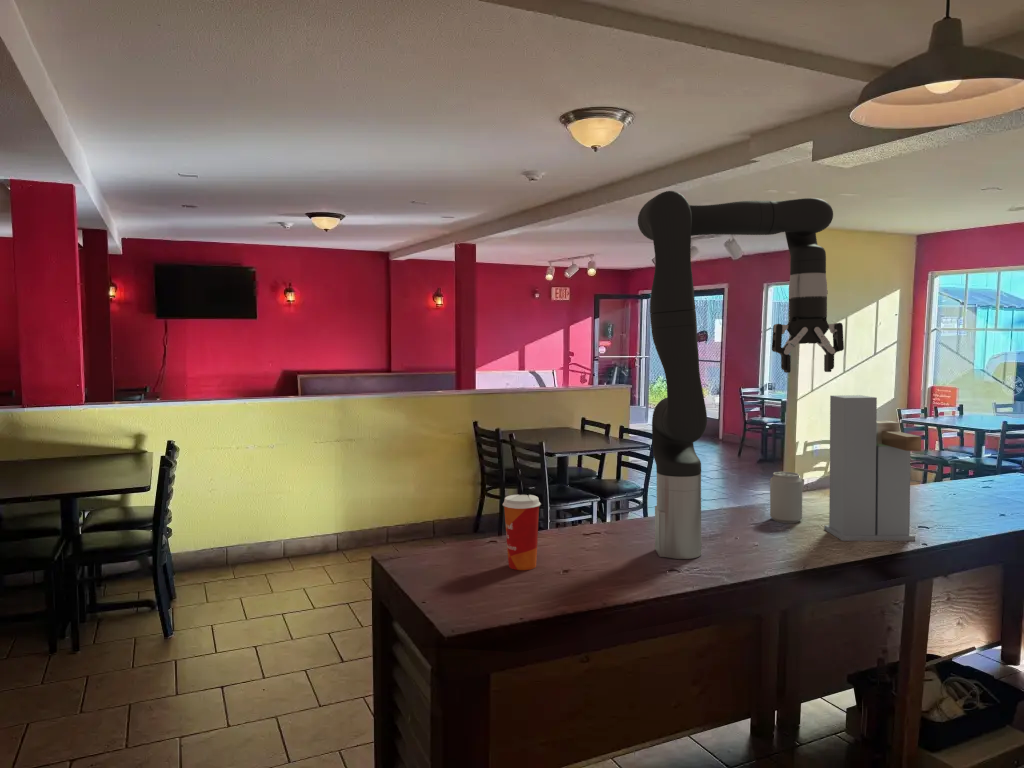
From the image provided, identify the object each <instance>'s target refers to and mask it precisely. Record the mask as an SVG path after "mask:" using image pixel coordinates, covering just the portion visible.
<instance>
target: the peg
mask: <svg viewBox="0 0 1024 768" xmlns="http://www.w3.org/2000/svg"><path fill="white" fill-rule="evenodd" d="M900 425H901V424H900V422H899V421H898V422H897V421H892V420H877V421H876V444H884V445H887V446H891V447H894V448H898V449H902V450H905V451H911V452H919V451H920V452H921V451H922V436H920V435H917V434H916V435H915V434H913V433H907V432H903V431H900V429H901V428H900Z"/></svg>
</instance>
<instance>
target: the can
mask: <svg viewBox="0 0 1024 768" xmlns="http://www.w3.org/2000/svg"><path fill="white" fill-rule="evenodd" d="M772 475H773V476H772V477H771V478H769V481H770V482H769V484H770V485H769V487H770V488H769V489H770V490H769V495H770V496H769V503H770V504H769V513H770V514H769V517H770V518H771V519H772V520H773V521H775V522H777V523H782V524H797V523H799V522H800V521H801V520H802V518H803V480H802V478H801V477H800V474H799V473H798V472H793V471H774V472H773V473H772Z"/></svg>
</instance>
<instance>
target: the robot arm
mask: <svg viewBox="0 0 1024 768" xmlns="http://www.w3.org/2000/svg"><path fill="white" fill-rule="evenodd" d="M833 219H834V210H833V208H832V206H831V205H830V203H829V202H827V201H826V200H824V199H822V198H817V197H807V198H806V197H805V198H797V199H795V198H794V199H788V200H786V199H785V200H778V201H777V200H742V201H741V200H740V201H732V202H723V203H716V204H704V205H703V204H701V205H695V204H694V205H693V204H692V205H691V204H690V203H689V202H688V200H687V198H686V197H685V196H684V195H683V194H682V193H680V192H678V191H676V190H666V191H663V192H660V193H657V195H655V196H654V197H652V198H651V199H650V200H648V201H647V202H646V203H645V204H644V205H643V206H642V207H641V209H640V210H639V212H638V216H637V225H638V229H639V231H640V232H641V234H642V235H643V236H644V237H645V238H647V239H649V240H650V241H652V242H653V250H654V259H655V261H654V262H655V265H654V266H655V267H654V273H653V274H654V275H653V279H652V284H651V290H650V299H649V300H650V301H649V314H650V315H649V316H650V327H651V328H650V329H651V337H652V340H653V344H654V347H655V349H656V350H655V351H656V353H657V355H658V358H659V361H660V362H661V365H662V368H663V371H664V374H665V375H664V376H665V381H666V397H665V398H662V399H661V400H660V401H659V402H658V403H657V404H656V406H655V407H654V410H653V412H652V418H651V434H652V435H651V436H652V439H651V440H652V452H653V453H652V454H653V458H654V462H655V465H656V470H655V471H656V505H655V506H654V549H655V552H656V553H657V555H658V557H660V558H668V559H675V560H677V559H678V560H688V559H689V560H690V559H695V558H698V557H700V556H701V555H702V547H703V546H702V545H703V544H702V462H701V460H700V458H699V457H698V455H697V453H696V450H695V447H694V443H695V442H698V440H699V439H701V438H702V436H703V435H704V433H705V432H706V429H707V423H708V414H707V406H706V401H705V397H704V392H703V386H702V379H701V372H700V371H701V370H700V357H699V345H698V343H699V341H698V329H697V328H698V325H697V322H698V321H697V311H696V309H697V308H696V302H695V301H696V300H695V290H694V278H693V269H692V258H691V255H692V254H691V252H692V251H691V250H692V249H691V248H692V247H691V246H692V243H691V242H692V237H693V236H703V235H704V236H705V235H706V236H707V235H708V236H709V235H726V236H727V235H730V236H731V235H733V236H735V235H737V236H739V235H740V236H761V235H762V236H771V235H776V234H780V233H784V234H785V238H786V243H787V244H786V245H787V247H788V248H787V249H788V251H789V254H790V260H789V261H790V262H789V264H790V265H789V268H790V269H789V270H790V271H789V275H790V277H789V281H788V282H789V283H788V284H789V285H788V322H787V324H782V323H776V324H774V325H773V326H772V338H771V339H772V340H771V341H772V342H771V351H772V352H774V353H778V354H779V355H780V368H781V370H783V373H784V374H785V373H787V374H788V373H791V366H792V365H791V361H792V359H791V354H790V353H791V352H792V351H793V349H794V348H795V347H796V346H797V345H801V344H802V345H803V344H805V345H806V344H808V345H809V344H817V345H818V346H819V347H821V349H822V350H823V352H824V353H825V354H824V355H823V356H824V357H823V359H824V361H823V367H824V368H823V371H824V373H831V372H832V370H834V368H835V355H836V353H840V352H843V350H844V349H845V342H844V326H843V325H844V324H843V323H841V322H835V323H834V322H833V323H828V321H827V317H828V282H827V281H828V279H827V254H826V249H825V248H824V247H823V246H821V245H818V240H817V233H820V232H822V231H825V230H826V229H827V228H828V227H829V226H830V225H831V223H832V221H833ZM786 331H787V332H788V333H789V335H790V337H789V338H788V339H787V340H786V341H785V344H784V345H783V346H782V342H783V340H782V339H783V335H784V334H785V333H786ZM828 331H829V332H830V333H831V334H832V344H833V346H832V344H831V342H830V340H829V339H828V338H827V336H826V333H827V332H828Z"/></svg>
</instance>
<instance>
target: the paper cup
mask: <svg viewBox="0 0 1024 768" xmlns="http://www.w3.org/2000/svg"><path fill="white" fill-rule="evenodd" d="M541 505H542V503H541V502H540V500H539V497H538V496H536V495H534V494H528V495H527V494H511V495H507V496H505V497H504V501H503V503H502V506H503V509H504V519H505V520H504V522H505V523H504V524H505V534H506V535H505V537H506V538H505V539H506V549H507V562H508V567H509V569H511V570H515V571H529V570H533V569H535V568H536V567H537V558H538V544H539V543H538V542H539V537H538V536H539V519H540V518H539V513H540V506H541Z"/></svg>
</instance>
